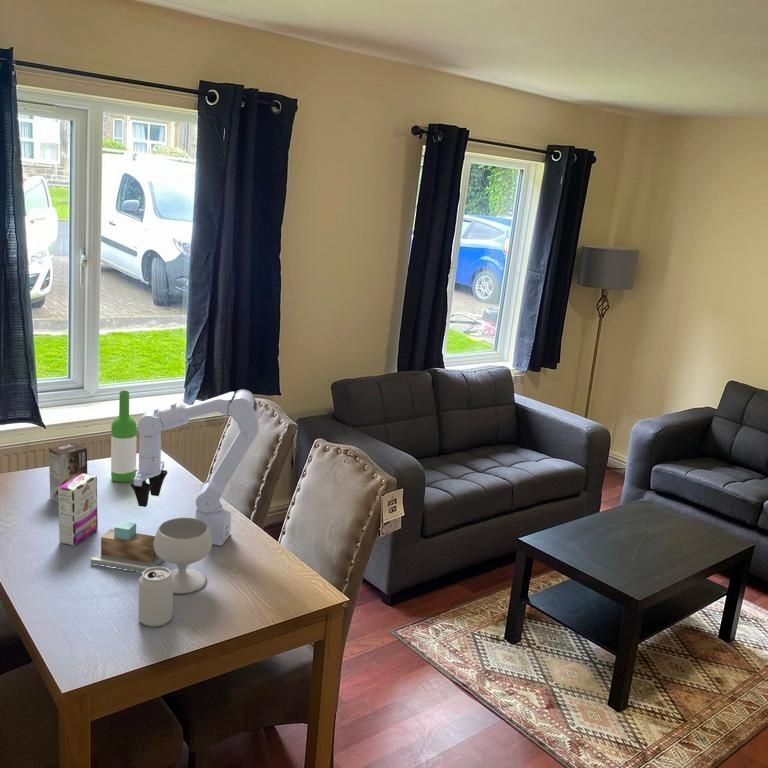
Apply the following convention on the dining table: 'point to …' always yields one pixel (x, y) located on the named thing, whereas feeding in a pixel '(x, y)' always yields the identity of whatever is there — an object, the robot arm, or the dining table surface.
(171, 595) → the can
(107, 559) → the dock
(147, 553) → the tan block
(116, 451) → the wine bottle
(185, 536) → the chalice
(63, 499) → the candy bar box
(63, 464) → the coffee box
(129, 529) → the teal cube block
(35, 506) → the dining table surface
